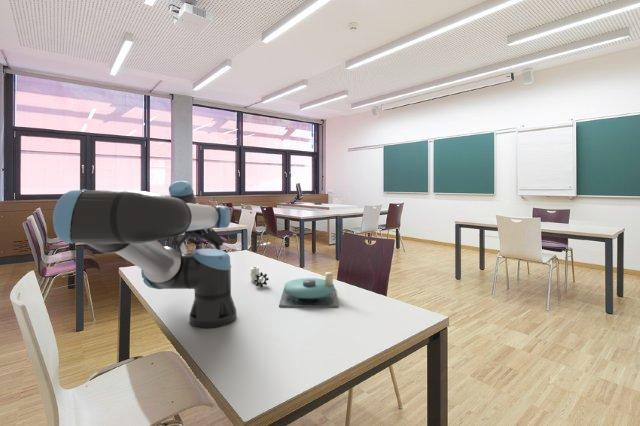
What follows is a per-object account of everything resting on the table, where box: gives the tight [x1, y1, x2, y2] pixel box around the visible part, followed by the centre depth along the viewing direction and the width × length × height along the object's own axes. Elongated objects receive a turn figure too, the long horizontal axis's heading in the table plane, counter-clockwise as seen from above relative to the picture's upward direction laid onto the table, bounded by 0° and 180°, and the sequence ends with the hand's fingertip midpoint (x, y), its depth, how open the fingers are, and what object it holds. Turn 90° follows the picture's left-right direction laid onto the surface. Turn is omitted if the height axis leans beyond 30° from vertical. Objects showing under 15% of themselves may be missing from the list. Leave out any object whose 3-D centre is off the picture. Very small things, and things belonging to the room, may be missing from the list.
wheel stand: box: [278, 286, 339, 308], centre depth 135 cm, size 22×22×3 cm
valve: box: [250, 266, 269, 288], centre depth 153 cm, size 7×7×12 cm
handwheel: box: [283, 271, 335, 299], centre depth 135 cm, size 20×20×7 cm
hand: (201, 255), depth 140 cm, fingers open, 13 cm apart
